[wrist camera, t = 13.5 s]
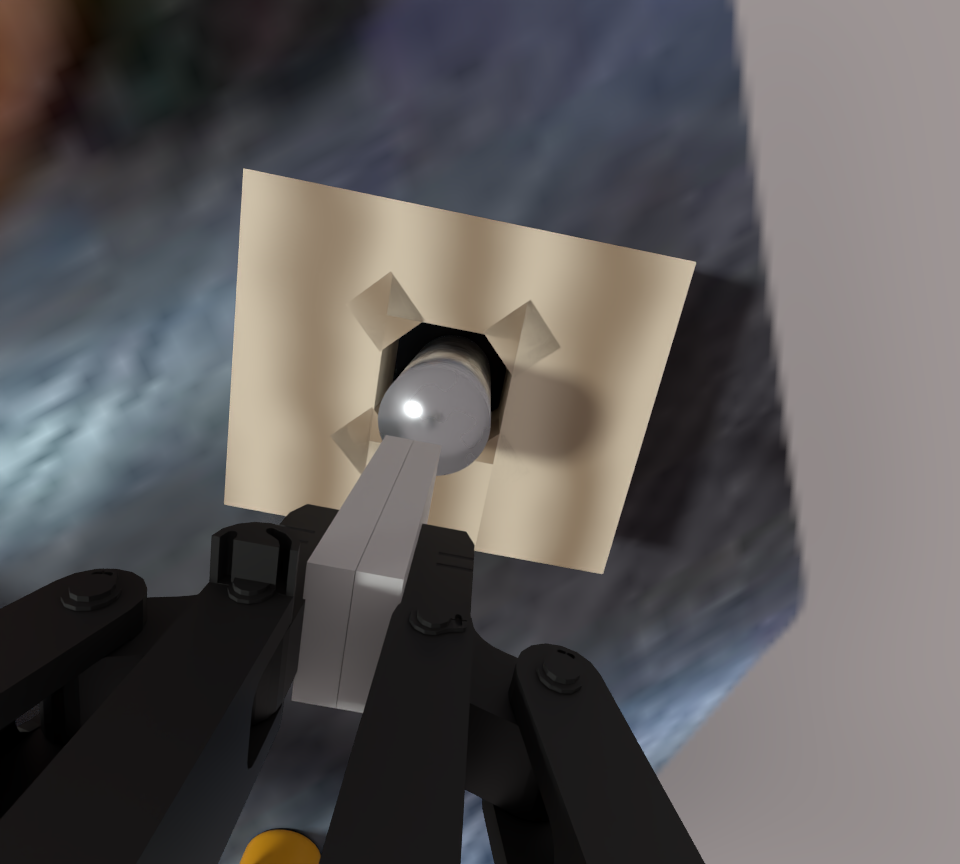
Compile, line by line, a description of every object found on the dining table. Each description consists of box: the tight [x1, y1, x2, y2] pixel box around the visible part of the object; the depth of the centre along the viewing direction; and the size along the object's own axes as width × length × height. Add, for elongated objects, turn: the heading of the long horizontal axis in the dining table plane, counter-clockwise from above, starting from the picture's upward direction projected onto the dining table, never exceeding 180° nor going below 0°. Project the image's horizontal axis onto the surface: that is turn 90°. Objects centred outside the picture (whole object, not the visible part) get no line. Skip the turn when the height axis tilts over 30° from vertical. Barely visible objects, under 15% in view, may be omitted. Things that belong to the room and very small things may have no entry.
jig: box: [224, 168, 696, 574], centre depth 28 cm, size 20×16×5 cm
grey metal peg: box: [378, 335, 491, 476], centre depth 26 cm, size 4×4×10 cm
